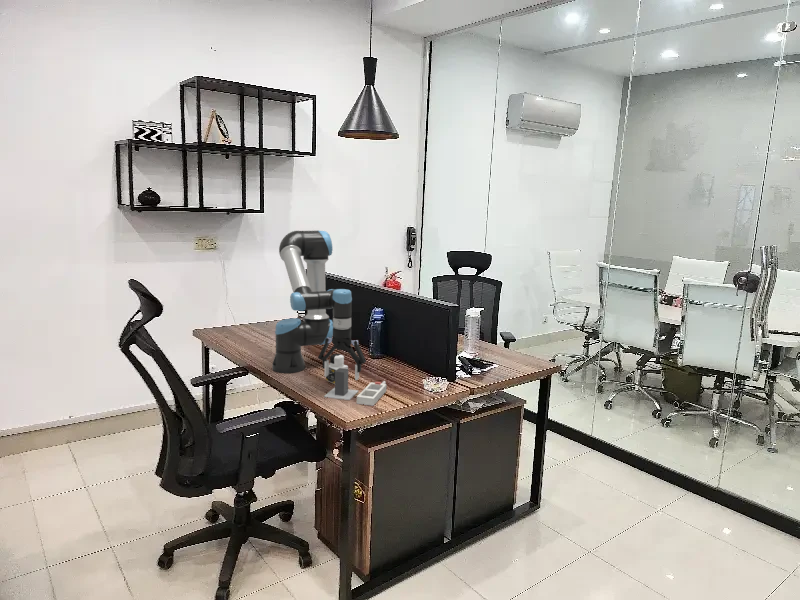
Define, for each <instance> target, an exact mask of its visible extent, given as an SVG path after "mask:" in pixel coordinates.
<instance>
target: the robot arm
mask: <svg viewBox="0 0 800 600" xmlns="http://www.w3.org/2000/svg"><path fill="white" fill-rule="evenodd" d="M278 247H279V248H278V254H279V256H280V259H281V260H282V262H283V263H284V265H285V269H286V272H287V276H288V279H289V282H290V286H291V289H292V293H291V294H290V299H289V303H290V307H291V310H293V311H297V312H298V311H300V312H304V311H307V313H306V314H305V316H304V317H303V319H304V320H303V321H302V320H301V319H300V318H297V317H291V318H285V319H282V320H279V321H278V322H277V323H276V325H275V331H274V335H275V354H274V357H273V361H272V364H271V369H272V370H273V371H274V372H277V373H281V374H292V373H299V372H301V371H304V369H305V368H306V362H305V360H304V357H303V354H302V347H305V346H318V345H319V346H322V345H323V346H322V348H321V351H320V352H319V355H318V356H317V359H318V360H321V361H322V369H324V378H326V377H327V376H328V375H329V365H330V361H329V360H330V359H328V358H330V356H331V355H333V354H334V353H333V352H334V351H335V350H336V349H337V351H346V352H347V353H348V354H349V355H350V357H351V358H352V359H353V361H354V362H355V363H356V364H355V365H354V380H355V381H358V380H359V379H360V373H361V372H362V365H364V364H365V363H366V361H367V360H366V358H365V355H364V353H363V351H362V348H361V347H360V342H359V341H360V340H359V339H356V340H352V303H353V302H352V301H353V297H352V291H351V290H350V289H345V288H336V289H334V288H331V289H328V290H326V263H327V262H328V260H329V257H330V256H332V254H333V243H332V238H331V236H330V234H329V233H328V232H327V231H325V230H294V231H293V230H292V231H290V232H289V233H287V234H286V235H284V237H283V238H282V239H281V241H280V243H279V246H278ZM302 258H303V259H302ZM303 262H305V263H306V269H305V265H304V264H303ZM331 309H332V319H330V316H329V314H327V310H331ZM331 343H332V344H333V346H332V347H331V348H330V349H329V350H328V352H327V353H326V351H327V349H328V348H329V345H330V344H331ZM352 345H353V347H354V349H355V350H354V349H353V347H352Z"/></svg>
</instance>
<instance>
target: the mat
mask: <svg viewBox="0 0 800 600" xmlns="http://www.w3.org/2000/svg"><path fill="white" fill-rule="evenodd" d="M358 393H359V390H357V389H349V388H348V392H347V393H346V394H345V395H344V396H341V395H335V387H333V388H332V389H331V390H329V391H328V392H327V393H326V394H325V395H324V396H323V397H324V398H327V397H328V398H329V399H335V400H336V399H337V400H343V399H344V400H345V401H350V400H351V399H353V397H354V396H356V394H358Z"/></svg>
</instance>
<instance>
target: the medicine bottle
mask: <svg viewBox="0 0 800 600" xmlns="http://www.w3.org/2000/svg"><path fill="white" fill-rule="evenodd" d="M329 360H330V361H329V375H328V376H327V377H325V381H327V382H329V383H331V384H333V385H335V371H336V370H337V369H339V368H344V369H348V370H349V366H348V365H347V364H345V356H344V355H343V354H341V353H332V354H331V355H330V356H329Z"/></svg>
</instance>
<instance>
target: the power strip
mask: <svg viewBox="0 0 800 600" xmlns="http://www.w3.org/2000/svg"><path fill="white" fill-rule="evenodd" d="M386 383H387V382H386V381H385V380H383V381H382V382H381V381H374V382H369V383H368V385H367V386H365V388H364V389H362V391H361V392H360V393H359V394H358V395H357V396H356V405H363V404H364V405H365V406H372V407H373V406H375V405H376V403H377V402H378V401H379V400H380V399H381V398H382V396H383V395H384V394H385V393H386V392H387V386H388V385H387V384H386Z"/></svg>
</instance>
